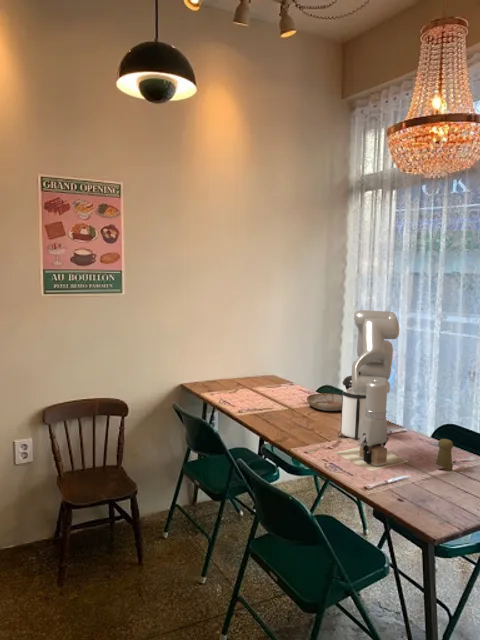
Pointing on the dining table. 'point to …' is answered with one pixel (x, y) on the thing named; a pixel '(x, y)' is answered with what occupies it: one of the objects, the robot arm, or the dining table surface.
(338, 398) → the ceramic bowl
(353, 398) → the coffee press
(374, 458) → the block
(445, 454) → the cork
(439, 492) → the dining table surface
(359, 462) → the birch board
